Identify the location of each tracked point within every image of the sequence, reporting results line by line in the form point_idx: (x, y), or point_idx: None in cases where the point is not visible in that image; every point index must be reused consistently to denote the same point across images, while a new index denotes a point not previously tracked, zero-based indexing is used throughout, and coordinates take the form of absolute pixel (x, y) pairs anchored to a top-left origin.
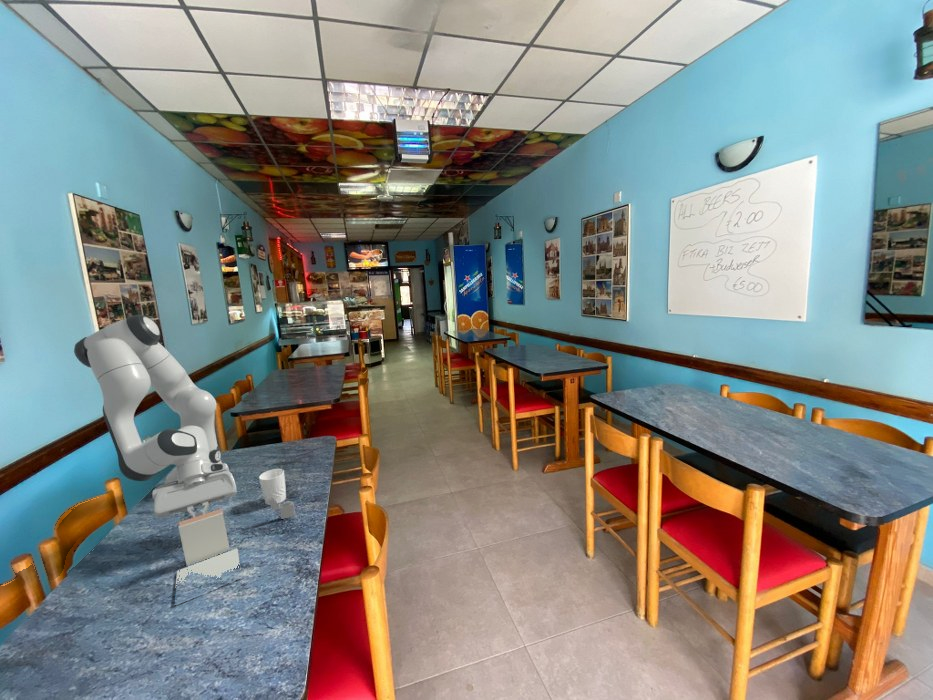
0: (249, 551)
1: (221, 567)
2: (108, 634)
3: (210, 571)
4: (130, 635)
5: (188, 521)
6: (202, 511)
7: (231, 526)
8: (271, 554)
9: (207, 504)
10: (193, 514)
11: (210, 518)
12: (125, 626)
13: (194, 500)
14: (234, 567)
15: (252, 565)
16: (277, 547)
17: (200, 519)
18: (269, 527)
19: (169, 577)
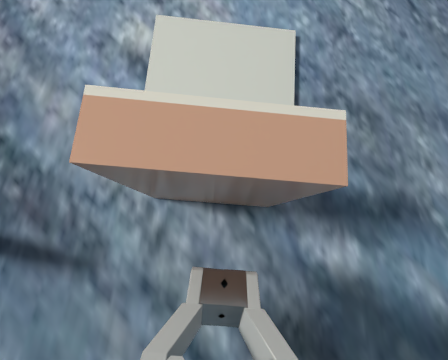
0: None
1: (190, 88)
2: (401, 48)
3: (216, 92)
4: (362, 16)
5: (291, 147)
6: (198, 307)
7: (121, 331)
8: (69, 60)
9: (148, 354)
10: (255, 309)
11: (165, 97)
12: (376, 48)
13: None
14: (162, 64)
15: (123, 51)
16: (44, 78)
17: (221, 113)
18: (18, 210)
19: None
